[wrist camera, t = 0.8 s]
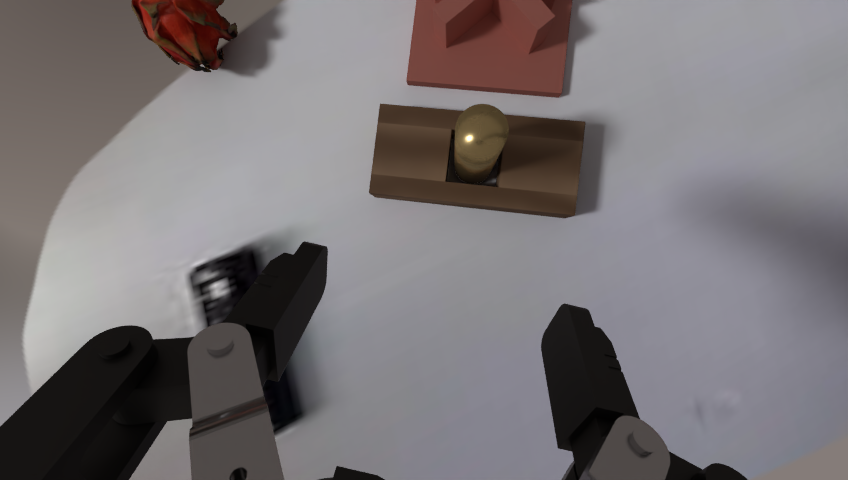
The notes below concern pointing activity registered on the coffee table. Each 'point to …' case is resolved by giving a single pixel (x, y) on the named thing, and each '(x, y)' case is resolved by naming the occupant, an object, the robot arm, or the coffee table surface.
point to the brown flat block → (517, 168)
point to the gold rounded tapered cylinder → (478, 142)
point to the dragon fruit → (186, 30)
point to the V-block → (490, 45)
